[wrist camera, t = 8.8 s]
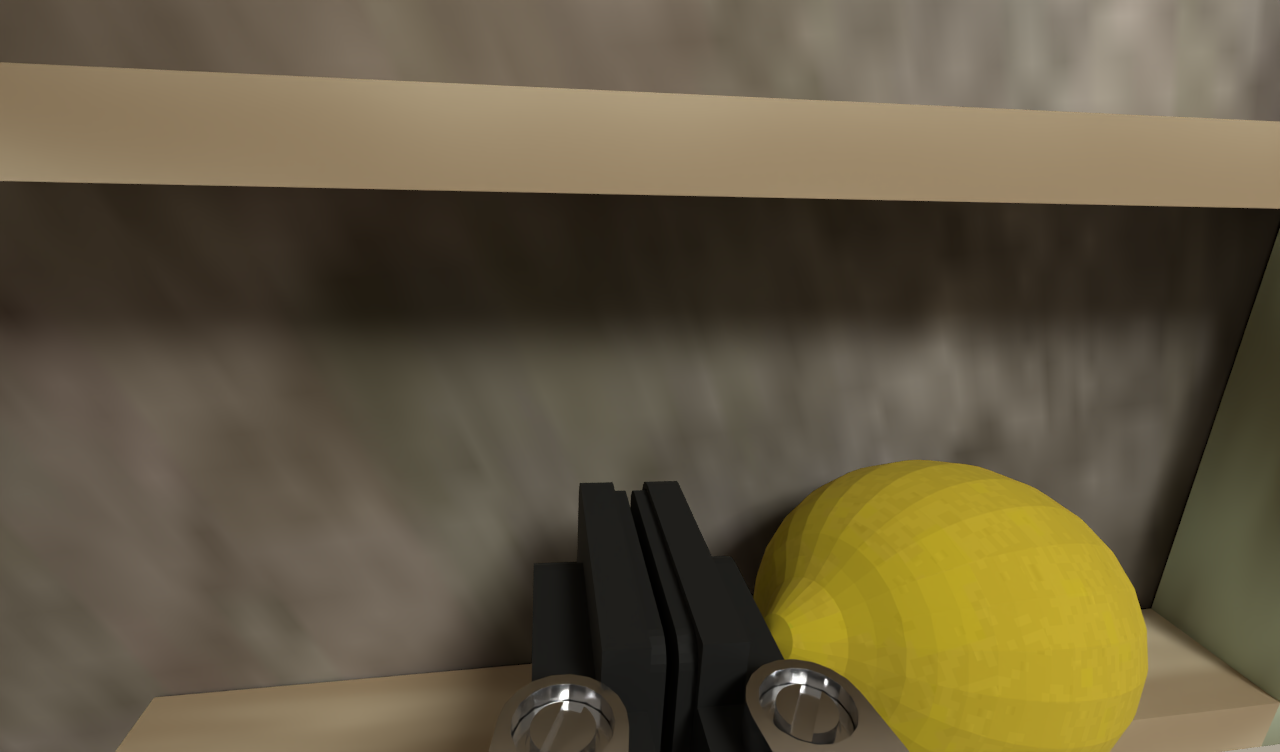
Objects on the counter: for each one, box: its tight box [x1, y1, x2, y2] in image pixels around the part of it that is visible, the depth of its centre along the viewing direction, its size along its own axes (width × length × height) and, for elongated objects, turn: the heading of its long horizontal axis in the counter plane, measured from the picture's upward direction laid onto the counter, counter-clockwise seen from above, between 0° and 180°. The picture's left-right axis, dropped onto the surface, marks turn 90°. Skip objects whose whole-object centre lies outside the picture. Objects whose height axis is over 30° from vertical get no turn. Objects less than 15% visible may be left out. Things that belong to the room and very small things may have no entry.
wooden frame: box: [0, 62, 1280, 752], centre depth 12 cm, size 12×25×3 cm, turn 89°
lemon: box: [753, 460, 1148, 752], centre depth 11 cm, size 6×6×8 cm
